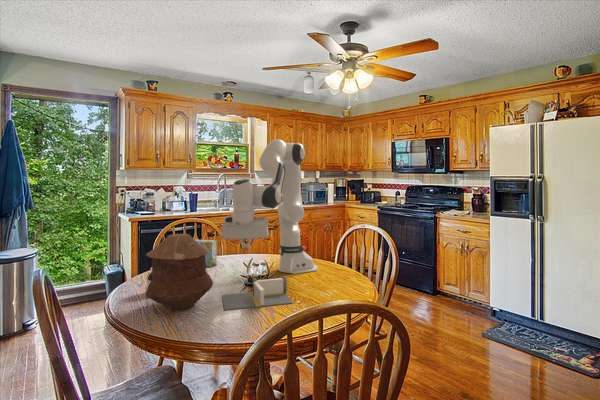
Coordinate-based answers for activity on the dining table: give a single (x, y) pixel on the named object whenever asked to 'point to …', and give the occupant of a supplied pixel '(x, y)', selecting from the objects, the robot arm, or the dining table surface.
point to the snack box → (209, 251)
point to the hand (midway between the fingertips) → (246, 248)
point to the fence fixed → (272, 285)
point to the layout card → (253, 300)
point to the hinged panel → (259, 293)
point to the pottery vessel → (178, 273)
